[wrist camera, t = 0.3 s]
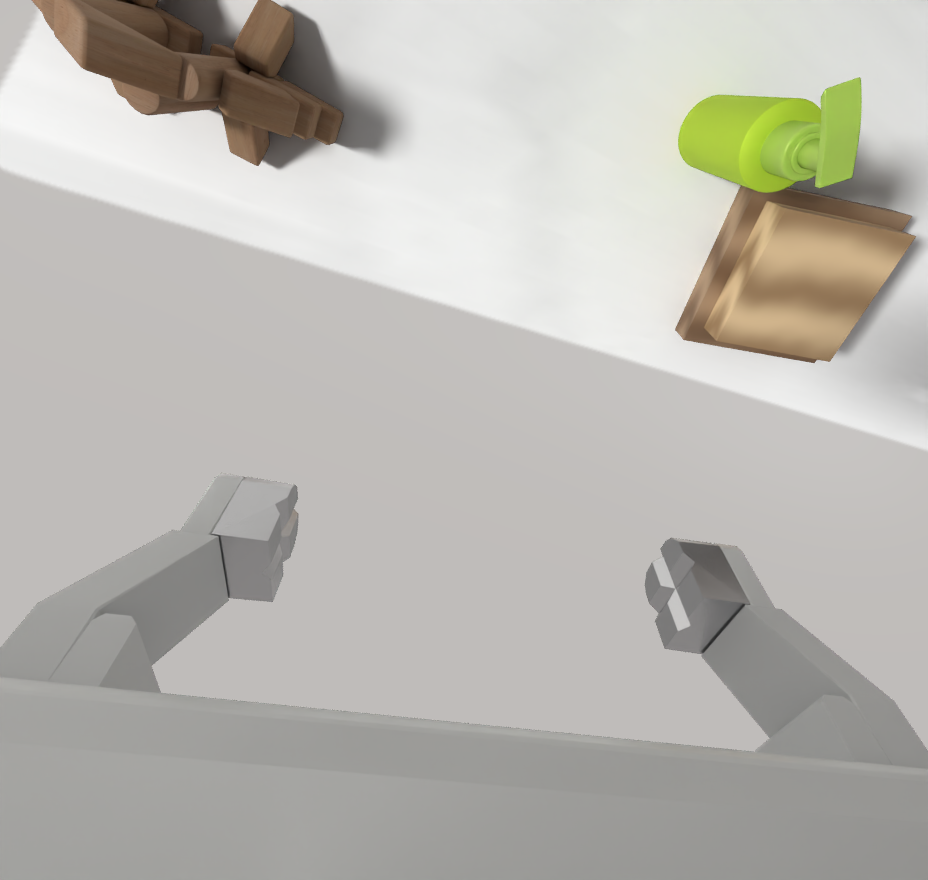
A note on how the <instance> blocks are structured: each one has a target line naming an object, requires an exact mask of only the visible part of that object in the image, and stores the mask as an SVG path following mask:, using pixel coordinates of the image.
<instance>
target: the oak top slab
mask: <svg viewBox="0 0 928 880" xmlns="http://www.w3.org/2000/svg"><path fill="white" fill-rule="evenodd" d="M915 237H916V236H913V235H911V234H908V233H905V232H902V231H899V230H896V229H893V228H890V227H886V226H881V225H877V224H872V223H867V222H863V221H858V220H853V219H849V218H844V217H839V216H835V215H830V214H825V213H821V212H816V211H812V210H807V209H802V208H798V207H793V206H788V205H784V204H779V203H774V202H770V201H767V202H766V204H765V206H764V208H763V210H762V212H761V214H760V216H759V218H758V220H757V222H756V224H755V226H754V228H753V230H752V232H751V234H750V236H749V238H748V240H747V242H746V244H745V246H744V248H743V250H742V252H741V254H740V256H739V258H738V260H737V262H736V264H735V266H734V268H733V270H732V272H731V274H730V276H729V278H728V280H727V282H726V284H725V286H724V288H723V290H722V292H721V294H720V296H719V298H718V300H717V302H716V304H715V306H714V308H713V310H712V312H711V314H710V316H709V318H708V320H707V322H706V324H705V326H704V328H705V329H706V330H707V331H708V332H709V334H710V335H711V336H712V337H713V338H714V339H715V340H716V341H719V342H725V343H730V344H736V345H741V346H746V347H752V348H757V349H763V350H768V351H774V352H779V353H785V354H790V355H796V356H801V357H806V358H812V359H817V360H823V361H828V362H830V361H831V359H832V358H833V356H834V355H835V353H836V352H837V351H838V349H839V348H840V346H841V345H842V343H843V342H844V340H845V339H846V338H847V336H848V335H849V333H850V332H851V330H852V329H853V327H854V326H855V324H856V323H857V322H858V320H859V319H860V317H861V316H862V314H863V313H864V311H865V310H866V308H867V307H868V306H869V304H870V303H871V301H872V300H873V298H874V297H875V295H876V294H877V292H878V291H879V290H880V288H881V287H882V285H883V284H884V282H885V281H886V279H887V278H888V277H889V275H890V274H891V272H892V271H893V269H894V268H895V266H896V265H897V263H898V262H899V261H900V259H901V258H902V256H903V255H904V253H905V252H906V250H907V249H908V247H909V246H910V245H911V243H912V242H913V240H914V239H915Z"/></svg>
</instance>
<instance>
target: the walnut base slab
mask: <svg viewBox="0 0 928 880" xmlns="http://www.w3.org/2000/svg"><path fill="white" fill-rule="evenodd" d="M767 201H770V202H774V203H779V204H784V205H788V206H793V207H798V208H802V209H807V210H812V211H816V212H821V213H825V214H830V215H835V216H839V217H844V218H849V219H853V220H858V221H863V222H867V223H872V224H877V225H881V226H886V227H890V228H893V229H896V230H899V231H903V229H904V228H905V226H906V225H907V223H908V221H909V220H910V218H911V217H912V216H910V215H906V214H903V213H900V212H896V211H893V210H889V209H884V208H880V207H875V206H870V205H866V204H861V203H856V202H852V201H847V200H842V199H837V198H833V197H828V196H823V195H819V194H814V193H809V192H805V191H800V190H795V189H790V188H785V189H782V190H780V191H776V192H769V193H765V192H758V191H755V190H753V189H750V188H747V187H745V186H742V185H741V187H740V189H739V191H738V193H737V195H736V197H735V200H734V202H733V204H732V206H731V208H730V211H729V213H728V215H727V217H726V219H725V221H724V224H723V226H722V228H721V230H720V232H719V235H718V237H717V239H716V241H715V243H714V246H713V248H712V250H711V252H710V254H709V256H708V259H707V261H706V263H705V265H704V267H703V270H702V272H701V274H700V276H699V278H698V281H697V283H696V285H695V287H694V289H693V291H692V294H691V296H690V298H689V300H688V302H687V305H686V307H685V309H684V311H683V313H682V316H681V318H680V320H679V322H678V324H677V326H676V329H675V330H676V331H677V332H678V334H679V335H680V336H681V337H682V338H683V340H687V341H693V342H698V343H704V344H710V345H715V346H721V347H726V348H732V349H738V350H743V351H749V352H755V353H760V354H766V355H771V356H777V357H783V358H788V359H794V360H800V361H805V362H811V363H815V362H816V360H817V359H812V358H806V357H801V356H796V355H790V354H785V353H779V352H774V351H768V350H763V349H757V348H752V347H746V346H741V345H736V344H730V343H725V342H719V341H716V340H715V339H714V338H713V337H712V336H711V335H710V334H709V332H708V331H707V330H706V329H705V328H704V326H705V324H706V322H707V320H708V318H709V316H710V314H711V312H712V310H713V308H714V306H715V304H716V302H717V300H718V298H719V296H720V294H721V292H722V290H723V288H724V286H725V284H726V282H727V280H728V278H729V276H730V274H731V272H732V270H733V268H734V266H735V264H736V262H737V260H738V258H739V256H740V254H741V252H742V250H743V248H744V246H745V244H746V242H747V240H748V238H749V236H750V234H751V232H752V230H753V228H754V226H755V224H756V222H757V220H758V218H759V216H760V214H761V212H762V210H763V208H764V206H765V204H766V202H767Z"/></svg>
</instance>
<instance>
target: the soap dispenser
mask: <svg viewBox="0 0 928 880" xmlns="http://www.w3.org/2000/svg"><path fill="white" fill-rule="evenodd" d="M860 124H861V78H860V77H859V78H856V79H853V80H850V81H847V82H844V83H841V84H838V85H836V86H833V87H830V88H827V89H825V91H824V92H823V94H822V96H821V110H820V108H819V107H818V106H817V105H816V104H814V103H813V102H811V101H809V100H806V99H801V98H779V97H757V96H734V95H715V96H711V97H708V98H706V99H704V100H702V101H701V102H699V103H698V104H697V105H696V106H695V107H694V108H693V109H692V110H691V111H690V112H689V113H688V115H687V116H686V118H685V120H684V122H683V124H682V126H681V129H680V133H679V139H678V145H679V151H680V154H681V156H682V158H683V160H684V161H685V162H686V163H687V164H688V165H690V166H692V167H694V168H697V169H699V170H702V171H705V172H707V173H710V174H713V175H715V176H718V177H721V178H723V179H726V180H729V181H731V182H734V183H737V184H739V185H742V186H745V187H747V188H750V189H753V190H755V191H758V192H765V193H769V192H776V191H780V190H782V189H785V188H787V187H789V186H791V185H793V184H794V183H796V182H797V181H805V180H808V179H810V178H812V177H814V176H816V179H815V187H817V188H822V187H825V186H828V185H831V184H834V183H838V182H841V181H844V180H847V179H850V178H852V176H853V170H854V165H855V159H856V153H857V147H858V141H859V133H860Z"/></svg>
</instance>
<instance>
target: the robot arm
mask: <svg viewBox="0 0 928 880" xmlns="http://www.w3.org/2000/svg"><path fill="white" fill-rule="evenodd" d="M297 499H298V492H297V486H296V485H294V484H288V483H282V482H276V481H270V480H264V479H258V478H252V477H243V476H237V475H231V474H225V473H221V474H219V475H218V476H216V477H215V478H214V480H213V481H212V483H211V484H210V486H209V487H208V489H207V490H206V492H205V494H204V495H203V497H202V498H201V500H200V501H199V503H198V504H197V506H196V508H195V509H194V510H193V512H192V514H191V515H190V517H189V518H188V520H187V521H186V523H185V524H184V526H183V527H182V529H181V530H180V531H177V530H171V531H169V532H168V533H166V534H164V535H162V536H160V537H159V538H157V539H155V540H153V541H151V542H149V543H147V544H146V545H144V546H142V547H140V548H138V549H137V550H134V551H133V552H131V553H129V554H127V555H125V556H123V557H122V558H120V559H118V560H116V561H115V562H112V563H111V564H109V565H107V566H105V567H103V568H101V569H100V570H98V571H96V572H94V573H92V574H90V575H88V576H87V577H85V578H83V579H81V580H79V581H77V582H75V583H74V584H72V585H70V586H68V587H66V588H65V589H63V590H61V591H59V592H57V593H55V594H53V595H52V596H50V597H48V598H46V599H44V600H42V601H40V602H39V603H37V604H36V606H35V607H34V608H33V609H32V610H31V612H30V613H29V614H28V615H27V616H26V618H25V619H24V620H23V621H22V622H21V624H20V625H19V626H18V627H17V628H16V630H15V631H14V632H13V633H12V634H11V636H10V637H9V638H8V639H7V640H6V642H5V643H4V644H3V645H2V646H1V647H0V880H928V750H927V749H926V747H925V746H924V745H923V743H922V741H921V740H920V738H919V737H918V735H917V734H916V733H915V731H914V730H913V728H912V727H911V725H910V724H909V722H908V721H907V719H906V718H905V716H904V715H903V713H902V712H901V710H900V709H899V708H898V706H897V705H896V703H895V702H894V700H892V699H891V698H890V697H889V696H887V695H886V694H885V693H884V692H883V691H881V690H880V689H879V688H878V687H876V686H875V685H874V684H873V683H871V682H870V681H869V680H868V679H867V678H865V677H864V676H863V675H862V674H860V673H859V672H858V671H857V670H856V669H854V668H853V667H852V666H850V665H849V664H848V663H847V662H846V661H845V660H843V659H842V658H841V657H840V656H838V655H837V654H836V653H835V652H834V651H832V650H831V649H830V648H829V647H827V646H826V645H825V644H824V643H822V642H821V641H820V640H819V639H818V638H816V637H815V636H814V635H813V634H811V633H810V632H809V631H808V630H807V629H805V628H804V627H803V626H802V625H800V624H799V623H798V622H797V621H796V620H794V619H793V618H792V617H791V616H789V615H788V614H787V613H786V612H785V611H783V610H782V609H776V608H775V607H774V605H773V604H772V602H771V600H770V598H769V597H768V595H767V593H766V592H765V590H764V588H763V586H762V585H761V583H760V581H759V579H758V578H757V576H756V574H755V572H754V571H753V569H752V567H751V566H750V564H749V562H748V561H747V559H746V557H745V555H744V553H743V552H742V551H741V550H740V549H739V548H738V547H737V546H731V545H723V544H715V543H714V544H712V543H707V542H699V541H691V540H684V539H677V538H670V539H669V540H667V541H665V543H664V544H663V546H662V547H661V552H662V555H663V557H661V558H659V559H657V560H655V561H653V562H652V563H651V565H650V567H649V569H648V571H647V573H646V580H645V588H646V595H647V598H648V601H649V603H650V605H651V606H652V607H653V608H654V609H655V610H656V611H657V612H658V613H659V614H658V616H657V618H656V620H655V622H656V625H657V628H658V631H659V633H660V636H661V639H662V642H663V645H664V648H665V649H671V650H677V651H684V652H691V653H697V654H702V658H703V659H704V660H705V661H706V662H707V664H708V665H709V666H710V667H711V668H712V669H713V671H714V672H715V673H716V674H717V676H718V677H719V678H720V679H721V680H722V681H723V683H724V684H725V685H726V686H727V688H728V689H729V690H730V691H731V692H732V694H733V695H734V696H735V697H736V698H737V699H738V701H739V702H740V703H741V704H742V705H743V707H744V708H745V709H746V710H747V711H748V712H749V714H750V715H751V716H752V718H753V719H754V720H755V721H756V722H757V723H758V724H759V726H760V727H761V728H762V729H763V731H764V732H765V733H766V734H767V735H768V737H769V738H770V739H769V740H768V741H766V742H765V743H763V744H762V745H761V746H760V747H759V748H757V749H756V751H755V752H751V751H741V750H732V749H721V748H711V747H701V746H691V745H681V744H671V743H661V742H650V741H641V740H630V739H620V738H610V737H601V736H590V735H581V734H571V733H560V732H550V731H541V730H530V729H520V728H509V727H500V726H490V725H479V724H469V723H459V722H448V721H439V720H428V719H418V718H408V717H397V716H388V715H378V714H368V713H358V712H348V711H338V710H327V709H317V708H306V707H297V706H287V705H276V704H267V703H257V702H246V701H237V700H226V699H216V698H205V697H196V696H186V695H176V694H166V693H161V692H160V689H159V686H158V683H157V681H156V678H155V675H154V672H153V669H152V665H153V664H154V663H155V662H156V661H158V660H159V659H160V658H161V657H162V656H164V655H165V654H166V653H167V652H168V651H170V650H171V649H172V648H173V647H174V646H175V645H177V644H178V643H179V642H180V641H181V640H183V639H184V638H185V637H186V636H187V635H188V634H190V633H191V632H192V631H193V630H194V629H196V628H197V627H198V626H199V625H200V624H202V623H203V622H204V621H205V620H206V619H207V618H209V617H210V616H211V615H212V614H213V613H215V612H216V611H217V610H218V609H219V608H220V607H221V606H223V605H224V604H225V603H226V602H228V601H229V599H228V598H234V599H245V600H256V601H267V602H273V600H274V597H275V595H276V592H277V590H278V587H279V584H280V582H281V579H282V577H283V562H284V561H285V560H287V559H288V558H290V556H291V553H292V550H293V547H294V544H295V540H296V536H297V530H298V513H297V512H296V511H295V509H294V506H295V504H296V502H297Z"/></svg>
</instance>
